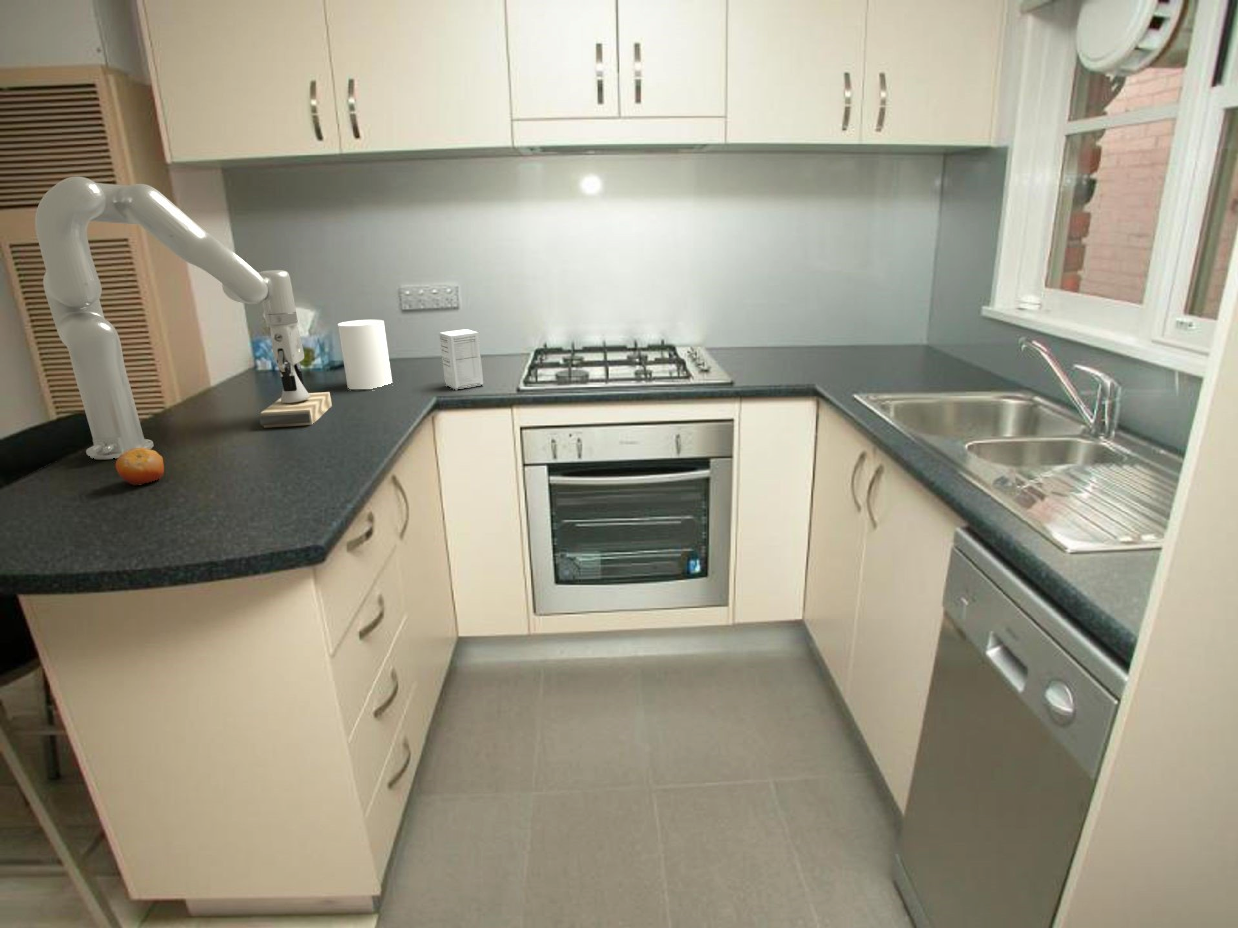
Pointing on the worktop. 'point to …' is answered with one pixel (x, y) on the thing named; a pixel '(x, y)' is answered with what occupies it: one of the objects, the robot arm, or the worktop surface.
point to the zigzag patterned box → (296, 411)
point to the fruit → (140, 466)
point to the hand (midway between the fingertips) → (294, 387)
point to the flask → (295, 395)
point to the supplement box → (461, 358)
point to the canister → (365, 354)
